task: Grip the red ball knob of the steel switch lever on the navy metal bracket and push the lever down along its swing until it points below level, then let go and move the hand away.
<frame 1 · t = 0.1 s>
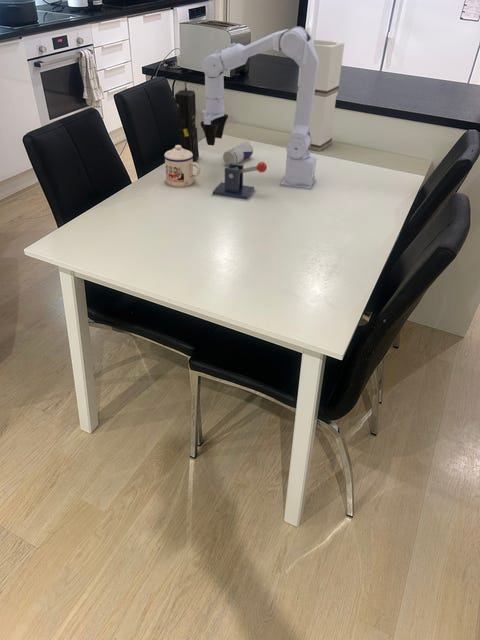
hand: (214, 141, 166), 10 cm above the table, tool pointing down, fingers open, 7 cm apart
tall banded cream box: (311, 145, 197), on the table
bracket: (233, 192, 158), on the table
lever: (247, 169, 152), point 8 cm above the table, hinge at 18.0°
portable radio: (188, 161, 179), on the table
teacup with lid: (183, 183, 164), on the table
energy drink: (228, 159, 174), point 3 cm above the table
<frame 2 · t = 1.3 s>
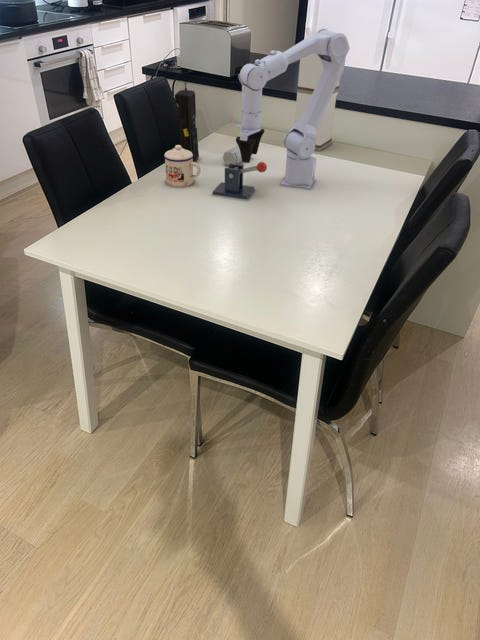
hand: (249, 157, 154), 10 cm above the table, tool pointing down, fingers open, 7 cm apart
nothing on the table moved.
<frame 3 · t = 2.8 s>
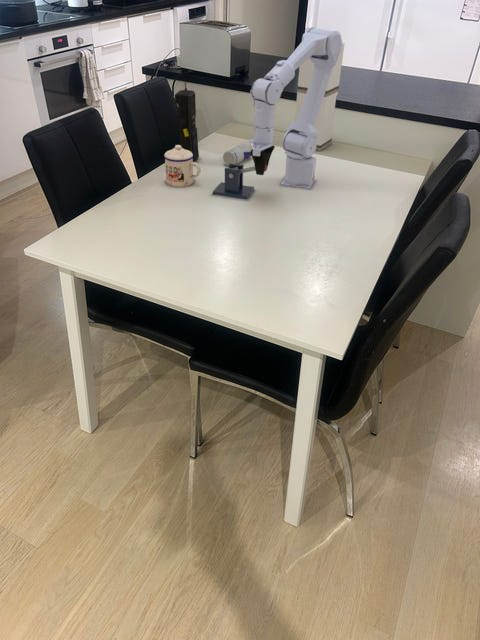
hand: (261, 172, 152), 8 cm above the table, tool pointing down, fingers closed on lever, 3 cm apart
lever: (247, 169, 152), point 8 cm above the table, hinge at 18.0°, touching gripper
everything else where it was.
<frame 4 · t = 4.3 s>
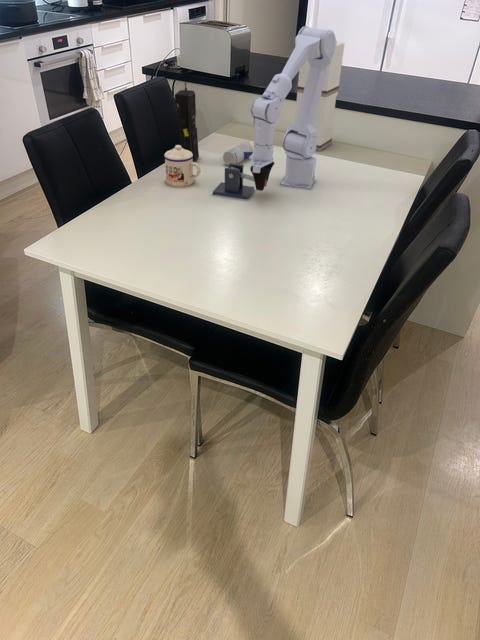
hand: (261, 187, 154), 3 cm above the table, tool pointing down, fingers closed on lever, 3 cm apart
lever: (248, 177, 154), point 6 cm above the table, hinge at -10.8°, touching gripper
everything else where it was.
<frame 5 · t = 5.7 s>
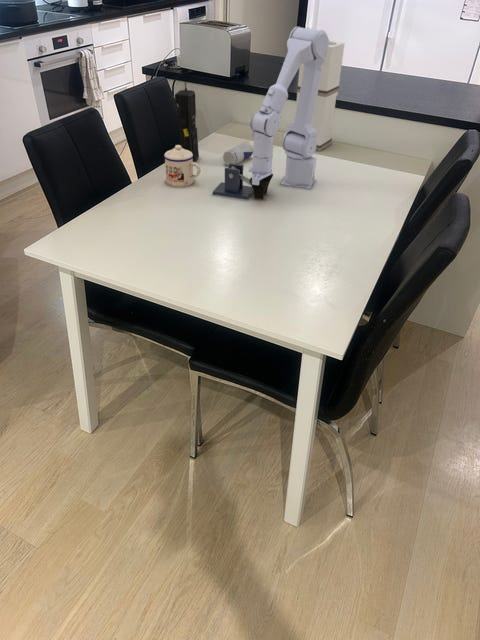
hand: (260, 199, 157), 0 cm above the table, tool pointing down, fingers closed on lever, 3 cm apart
lever: (246, 180, 154), point 5 cm above the table, hinge at -24.2°, touching gripper
everything else where it was.
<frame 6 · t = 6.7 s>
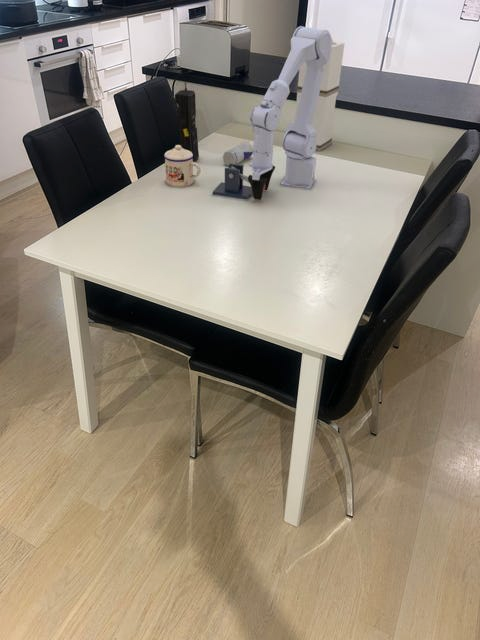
hand: (260, 194, 156), 1 cm above the table, tool pointing down, fingers open, 7 cm apart
lever: (247, 179, 154), point 5 cm above the table, hinge at -19.9°
everything else where it was.
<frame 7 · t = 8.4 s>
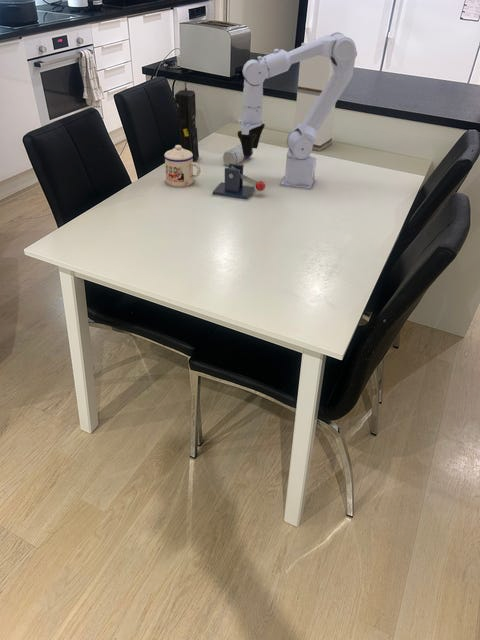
hand: (250, 151, 158), 10 cm above the table, tool pointing down, fingers open, 7 cm apart
nothing on the table moved.
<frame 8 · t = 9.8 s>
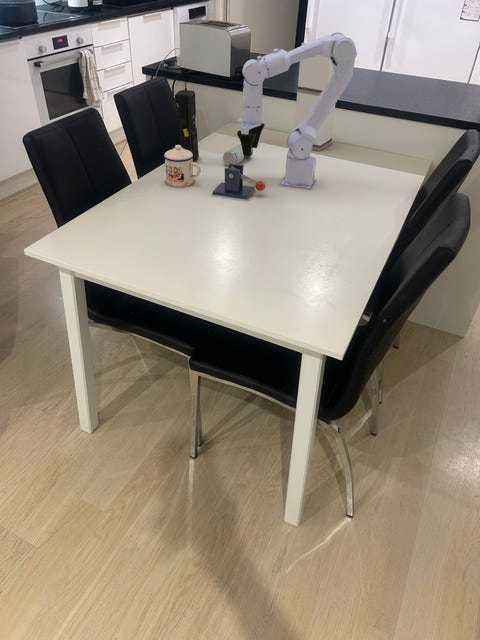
hand: (250, 151, 158), 10 cm above the table, tool pointing down, fingers open, 7 cm apart
nothing on the table moved.
at the end: lever at -20° (first picture: +18°); teacup with lid moved 0.2 cm from its start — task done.
